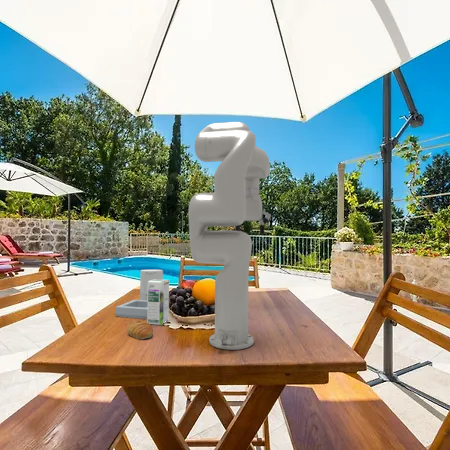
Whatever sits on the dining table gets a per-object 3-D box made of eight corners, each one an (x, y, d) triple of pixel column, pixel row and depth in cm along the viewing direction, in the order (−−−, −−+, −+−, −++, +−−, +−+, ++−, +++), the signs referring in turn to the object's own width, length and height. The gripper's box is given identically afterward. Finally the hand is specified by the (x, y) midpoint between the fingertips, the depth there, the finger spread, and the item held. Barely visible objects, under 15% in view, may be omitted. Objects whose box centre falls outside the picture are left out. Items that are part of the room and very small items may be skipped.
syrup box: (146, 324, 107) (146, 281, 108) (154, 319, 113) (154, 278, 113) (162, 325, 106) (162, 281, 106) (169, 320, 112) (169, 279, 112)
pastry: (158, 338, 94) (158, 325, 94) (136, 342, 90) (136, 329, 90) (146, 330, 102) (146, 318, 102) (125, 334, 98) (125, 321, 98)
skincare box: (143, 307, 131) (144, 271, 131) (139, 304, 136) (139, 269, 136) (163, 305, 135) (163, 269, 136) (157, 302, 140) (158, 268, 141)
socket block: (147, 319, 113) (147, 309, 113) (115, 316, 117) (115, 306, 117) (163, 310, 126) (163, 301, 126) (134, 308, 129) (134, 299, 129)
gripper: (227, 193, 131) (227, 234, 131) (269, 191, 126) (269, 235, 126) (232, 195, 138) (232, 234, 138) (272, 194, 134) (272, 235, 133)
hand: (249, 234), depth 132 cm, fingers open, 9 cm apart
